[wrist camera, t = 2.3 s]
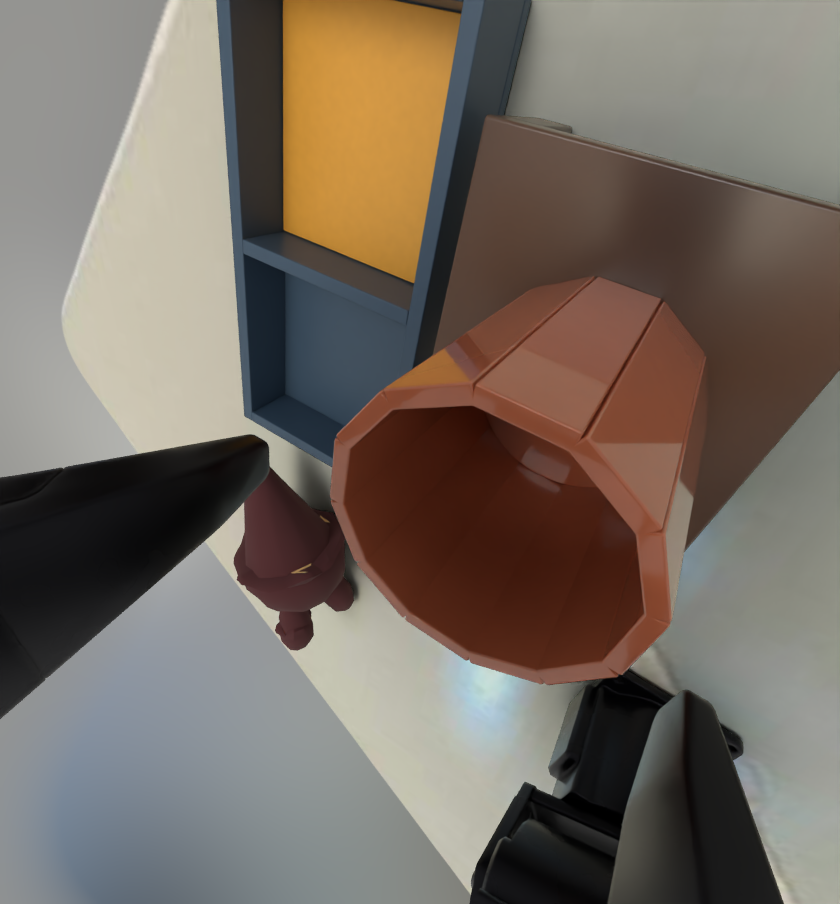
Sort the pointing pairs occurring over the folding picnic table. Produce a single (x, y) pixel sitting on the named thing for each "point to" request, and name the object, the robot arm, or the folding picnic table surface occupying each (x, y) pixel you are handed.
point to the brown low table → (663, 272)
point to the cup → (534, 482)
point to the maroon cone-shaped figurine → (292, 558)
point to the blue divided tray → (350, 189)
